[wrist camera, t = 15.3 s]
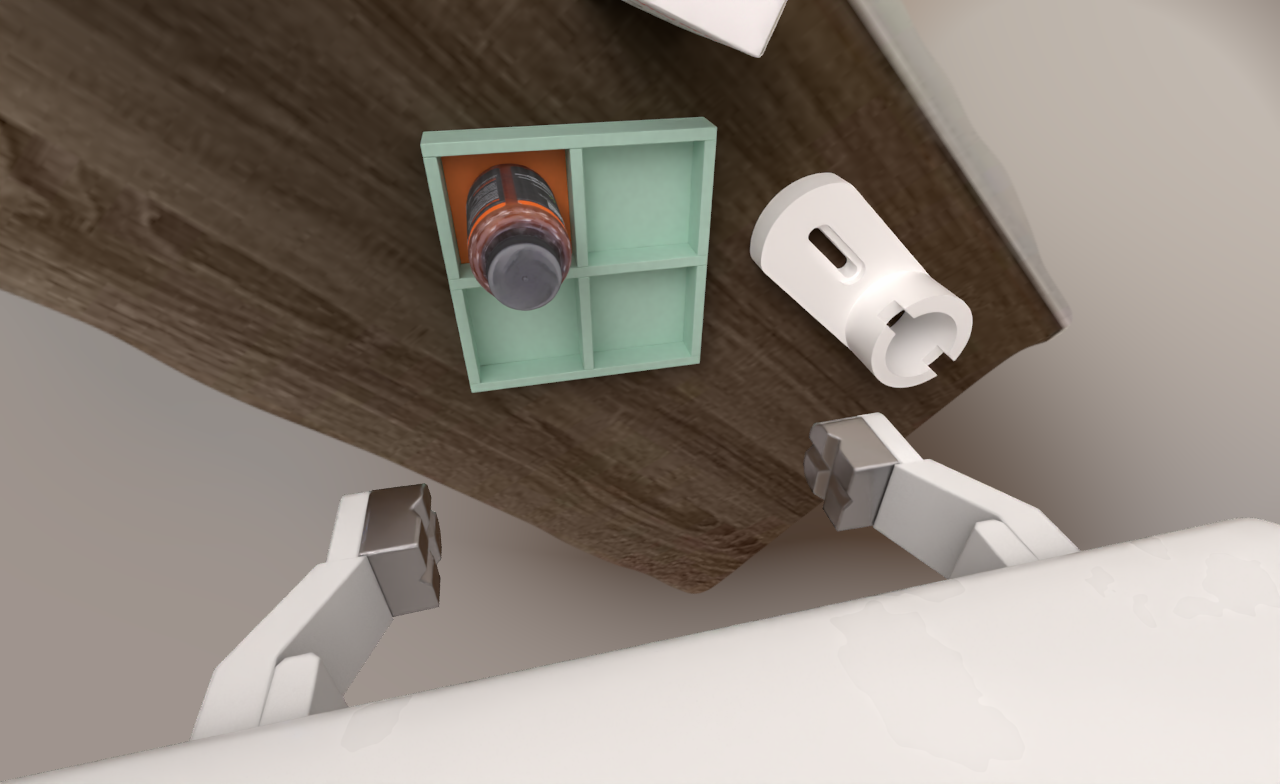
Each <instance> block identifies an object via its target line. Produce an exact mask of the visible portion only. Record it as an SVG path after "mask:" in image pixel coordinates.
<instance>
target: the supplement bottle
mask: <svg viewBox="0 0 1280 784" xmlns="http://www.w3.org/2000/svg"><path fill="white" fill-rule="evenodd" d="M466 217H467V243H468V259H469V264H470V267H471V270H472V273H473V275H474V277H475V278H476V280H477V281H478V282H479V284H480V285H481V286H482V287H483V288H484V289H485V290H486V291H487V292H488V293H490V294H491V295H493V296H494V297H495V298H496V299H497V300H498V301H500V302H501V303H502V304H503V305H505V306H507V307H509V308H512V309H515V310H521V311H529V310H534V309H537V308H541V307H543V306H544V305H546V304H548V303H549V302H550V301H551V300H552V299H553V298H554V297H555V296H556V294H557V293H558V291H559V289H560V286H561V284H562V283H563V281H564V280H565V278H566V277H567V274H568V272H569V268H570V266H571V258H572V251H571V244H570V240H569V237H568V234H567V230H566V228H565V225H564V222H563V219H562V217H561V214H560V211H559V208H558V206H557V203H556V200H555V197H554V195H553V192H552V191H551V189H550V187H549V185H548V184H547V182H546V181H545V180H544V179H543V178H542V177H541V176H540V175H539V174H538V173H536V172H535V171H534V170H532V169H530V168H528V167H526V166H523V165H519V164H500V165H496V166H493V167H490V168H489V169H487V170H485V171H484V172H482V173H481V174H480V175H479V176H478V177H477V178H476V179H475V181H474V182H473V184H472V185H471V187H470V189H469V193H468V196H467V202H466Z"/></svg>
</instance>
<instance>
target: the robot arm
mask: <svg viewBox="0 0 1280 784" xmlns="http://www.w3.org/2000/svg"><path fill="white" fill-rule="evenodd" d="M809 438H810V440H811V441H812V443H813V445H812V446H811V447H810V448H809V449H808V450H807V451H806V452H805V457H804V463H803V466H804V474H805V478H806V481H807V483H808V485H809V487H810V489H811V491H812V492H813V494H815V495H817V496H819V497H820V498H822V499H824V504H823V510H824V511H825V513H826V515H827V516H828V518H829V519H830V521H831V522H832V524H833V526H834V527H835V529H836V530H837V531H842V530H848V529H855V528H861V527H867V526H873V525H874V526H873V527H874V528H875V529H876V530H878V531H879V532H881V533H882V534H883V535H885V536H886V537H888V538H889V539H891V540H892V541H893V542H895V543H896V544H898V545H899V546H901V547H902V548H904V549H905V550H906V551H908V552H909V553H911V554H912V555H914V556H915V557H916V558H918V559H919V560H921V561H923V562H924V563H925V564H927V565H928V566H929V567H931V568H932V569H934V570H935V571H937V572H938V573H939V574H941V575H942V576H944V577H945V578H947V579H948V580H944V581H939V582H934V583H930V584H925V585H920V586H915V587H911V588H906V589H901V590H897V591H892V592H887V593H882V594H878V595H873V596H869V597H864V598H859V599H854V600H850V601H845V602H841V603H836V604H831V605H826V606H822V607H817V608H813V609H808V610H803V611H798V612H794V613H789V614H784V615H780V616H775V617H771V618H765V619H761V620H756V621H752V622H747V623H742V624H737V625H733V626H728V627H723V628H718V629H714V630H709V631H704V632H700V633H695V634H691V635H686V636H681V637H676V638H671V639H667V640H662V641H658V642H653V643H648V644H643V645H638V646H634V647H629V648H624V649H620V650H615V651H610V652H605V653H601V654H596V655H591V656H587V657H583V658H578V659H573V660H568V661H563V662H559V663H554V664H549V665H544V666H540V667H535V668H530V669H526V670H522V671H516V672H512V673H507V674H503V675H497V676H493V677H488V678H483V679H479V680H474V681H469V682H465V683H460V684H455V685H450V686H446V687H441V688H436V689H432V690H427V691H423V692H418V693H413V694H408V695H404V696H399V697H394V698H389V699H385V700H380V701H375V702H371V703H366V704H361V705H357V706H352V707H348V705H347V704H346V702H345V700H344V698H343V696H344V694H345V692H346V691H347V690H348V688H349V686H350V685H351V683H352V682H353V680H354V679H355V677H356V676H357V674H358V673H359V671H360V670H361V668H362V667H363V665H364V664H365V662H366V660H367V659H368V657H369V656H370V654H371V653H372V651H373V650H374V648H375V647H376V645H377V644H378V642H379V640H380V639H381V637H382V636H383V635H384V633H385V632H386V630H387V628H388V627H389V625H390V624H391V622H392V621H393V617H395V616H399V615H404V614H408V613H413V612H418V611H422V610H427V609H431V608H436V607H439V596H440V575H439V572H438V569H437V563H438V562H439V561H440V560H441V548H442V546H441V534H440V528H439V522H438V518H437V515H436V512H434V511H432V510H431V495H430V492H429V489H428V486H427V485H426V484H417V485H409V486H401V487H394V488H386V489H379V490H372V491H369V492H361V493H352V494H345V495H344V496H343V497H342V499H341V500H340V504H339V508H338V512H337V516H336V520H335V524H334V529H333V533H332V537H331V542H330V546H329V551H328V555H327V559H326V563H321V564H317V565H316V566H315V567H314V568H313V569H312V570H311V571H310V572H309V573H308V574H307V575H306V576H305V577H304V578H303V579H302V580H301V581H300V582H299V583H298V584H297V585H296V586H295V587H294V588H293V589H292V591H291V592H290V593H289V594H288V595H287V596H286V597H285V598H284V599H283V600H282V601H281V602H280V603H279V604H278V605H277V606H276V607H275V608H274V609H273V610H272V611H271V612H270V613H269V614H268V615H267V616H266V617H265V618H264V619H263V620H262V621H261V622H260V623H259V624H258V625H257V626H256V627H255V628H254V629H253V630H252V631H251V633H249V634H248V635H247V636H246V637H245V639H244V640H242V642H241V643H240V644H239V645H238V646H237V647H236V648H235V649H234V650H233V651H232V652H231V653H230V654H229V655H228V656H227V657H226V658H225V659H224V660H223V661H222V662H221V663H220V664H219V665H218V666H217V667H216V668H215V669H214V672H213V675H212V677H211V680H210V684H209V686H208V689H207V692H206V695H205V698H204V700H203V703H202V706H201V709H200V712H199V714H198V718H197V720H196V723H195V726H194V729H193V732H192V734H191V737H190V740H189V741H188V742H183V743H178V744H174V745H169V746H164V747H160V748H155V749H150V750H146V751H141V752H136V753H131V754H127V755H122V756H117V757H113V758H109V759H103V760H99V761H95V762H90V763H85V764H80V765H76V766H71V767H66V768H61V769H57V770H52V771H47V772H43V773H38V774H34V775H29V776H24V777H19V778H15V779H10V780H5V781H1V782H0V784H1280V525H1278V524H1275V523H1272V522H1269V521H1265V520H1262V519H1258V518H1236V519H1230V520H1224V521H1220V522H1215V523H1210V524H1206V525H1201V526H1197V527H1192V528H1187V529H1183V530H1179V531H1174V532H1169V533H1164V534H1160V535H1155V536H1150V537H1146V538H1141V539H1136V540H1132V541H1127V542H1122V543H1118V544H1113V545H1109V546H1104V547H1099V548H1094V549H1090V550H1085V551H1080V550H1079V549H1078V548H1077V547H1076V546H1075V545H1074V544H1073V543H1072V542H1071V541H1070V540H1069V539H1068V538H1067V537H1066V536H1065V535H1064V534H1063V533H1062V532H1061V531H1060V530H1059V529H1058V528H1057V527H1056V526H1055V525H1054V524H1053V523H1052V522H1051V521H1050V520H1049V519H1048V518H1047V517H1046V516H1045V515H1044V514H1043V513H1042V512H1041V511H1040V510H1039V509H1038V508H1035V507H1033V506H1031V505H1029V504H1027V503H1024V502H1022V501H1020V500H1018V499H1016V498H1014V497H1011V496H1009V495H1007V494H1005V493H1003V492H1001V491H998V490H996V489H994V488H992V487H990V486H987V485H985V484H983V483H981V482H979V481H976V480H974V479H972V478H970V477H968V476H966V475H963V474H961V473H959V472H957V471H955V470H952V469H950V468H948V467H946V466H944V465H942V464H939V463H937V462H935V461H933V460H931V459H926V460H923V459H922V458H921V457H920V456H919V455H918V453H916V451H915V450H914V449H913V448H912V447H911V446H910V444H909V443H908V442H907V441H906V440H905V439H904V438H903V436H902V435H901V434H900V433H899V432H898V431H897V430H896V429H895V427H894V426H893V425H892V424H891V423H890V422H889V421H888V419H887V418H886V417H885V416H884V415H882V414H880V413H878V412H877V413H872V414H866V415H860V416H856V417H849V418H843V419H837V420H830V421H824V422H818V423H814V425H813V426H812V427H811V430H810V434H809Z"/></svg>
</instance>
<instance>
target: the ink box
mask: <svg viewBox="0 0 1280 784" xmlns="http://www.w3.org/2000/svg"><path fill="white" fill-rule="evenodd" d="M622 1H624V2H627V3H629V4H631V5H633V6H635V7H637V8H639V9H641V10H643V11H645V12H647V13H650V14H652V15H654V16H656V17H658V18H660V19H663V20H665V21H667V22H669V23H671V24H674V25H676V26H678V27H680V28H683V29H685V30H688V31H690V32H693V33H695V34H698V35H700V36H703V37H705V38H708V39H711V40H713V41H716V42H718V43H721V44H724V45H726V46H729V47H731V48H734V49H737V50H739V51H741V52H744V53H746V54H748V55H751V56H753V57H757V58H760V57H761V56H762V55H763V53H764V51H765V48H766V46H767V44H768V42H769V40H770V37H771V35H772V33H773V31H774V29H775V27H776V24H777V22H778V20H779V18H780V16H781V14H782V11H783V9H784V7H785V5H786V2H787V0H622Z"/></svg>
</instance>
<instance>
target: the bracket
mask: <svg viewBox="0 0 1280 784" xmlns="http://www.w3.org/2000/svg"><path fill="white" fill-rule="evenodd" d="M814 228H819V230H820V231H821V232H822V233H823V234H824V235H825V236H826V237H827V238H828V239H829V240H830V241H831V242H832V243H833V244H834V245H835V246H836V247H837V248H838V249H839V250H840V251H841V252H842V254H843V255H844V256H845V257H846V259H847V261H846V264H845V265H844V266H843V267H842V268H838V269H837V268H836V267H835V266H834V265H833V264H832V263H831V262H830V261H829V260H828V259H827V258H826V257H825V256H824V255H823V254H822V253H821V252H820V251H819V250H818V249H817V248H816V247H815V246H814V245H813V244H812V243H811V242H810V241H809V239H808V236H809V233H810V232H811V231H812V230H813V229H814ZM750 255H751V258H752V259H753V260H754V262H755V263H756V264H757V265H758V266H759V267H760V268H761V269H762V271H763V272H764V273H765V274H766V275H767V276H769V277H770V278H771V279H772V280H773V281H774V282H775V283H776V284H777V285H779V286H780V287H781V288H782V289H783V290H784V291H785V292H786V293H788V294H789V295H790V296H791V297H792V298H793V299H794V300H795V301H796V302H798V303H799V304H800V305H801V306H802V307H803V308H804V309H805V310H806V311H808V312H809V313H810V314H811V315H812V316H813V317H814V318H815V319H817V320H818V321H819V322H820V323H821V324H822V325H823V326H824V327H825V328H827V329H828V330H829V331H830V332H831V333H832V334H833V335H834V336H836V337H837V338H838V339H839V340H840V341H841V342H842V343H843V344H844V345H846V346H847V347H848V348H849V349H850V350H851V351H852V352H853V353H854V354H855V355H856V356H857V357H858V358H859V359H860V361H861V362H862V363H863V364H864V365H865V366H866V367H867V368H868V369H869V370H870V371H871V372H872V373H873V375H874V376H875V377H876V378H877V379H878V380H879V381H880V382H882V383H883V384H885V385H887V386H891V387H896V388H904V387H911V386H915V385H918V384H921V383H924V382H926V381H928V380H930V379H932V378H933V377H935V376H937V375H936V374H935V373H934V372H933V371H932V370H931V369H930V368H929V367H928V365H929V364H930V363H932V362H933V361H934V360H936V359H937V358H938V357H939V356H940V355H941V354H942V353H943V352H944V353H945V354H947V355H948V356H949V357H950V358H951V359H952V360H953V361H955V359H956V358H957V357H958V356H959V355H960V353H961V352H962V350H963V349H964V347H965V345H966V344H967V342H968V339H969V337H970V334H971V330H972V314H971V311H970V309H969V307H968V306H967V305H966V303H965V302H964V301H962V300H961V299H960V298H958V297H957V296H956V295H954V294H953V293H951V292H950V291H949V290H947V289H946V288H945V287H943V286H942V285H941V284H939V283H938V282H937V281H935V280H934V279H932V278H931V277H930V276H929V274H928V273H927V272H926V271H925V270H924V269H923V267H922V266H921V265H920V264H919V263H918V262H917V260H916V259H915V258H914V257H913V256H912V255H911V253H910V252H909V251H908V250H907V249H906V247H905V246H904V245H903V244H902V243H901V242H900V240H899V239H898V238H897V237H896V236H895V235H894V233H893V232H892V231H891V230H890V229H889V228H888V226H887V225H886V224H885V223H884V222H883V220H882V219H881V218H880V217H879V216H878V215H877V213H876V212H875V211H874V210H873V209H872V208H871V206H870V205H869V204H868V203H867V202H866V200H865V199H864V198H863V197H862V196H861V195H860V193H859V192H858V191H857V190H856V189H855V188H854V186H853V185H851V184H850V183H848V182H847V181H845V180H843V179H842V178H840V177H839V176H837V175H836V174H834V173H818V174H813V175H809V176H806V177H803V178H801V179H799V180H797V181H795V182H793V183H792V184H790V185H788V186H787V187H785V188H784V189H783V190H782V191H780V192H779V193H778V194H777V195H776V196H775V197H774V198H773V199H772V200H771V201H770V202H769V204H768V205H767V206H766V207H765V209H764V210H763V212H762V213H761V215H760V217H759V219H758V221H757V223H756V225H755V228H754V230H753V234H752V237H751V243H750ZM902 310H905V312H904V314H903V315H902V317H901V318H900V319H899V320H898V321H897V322H896V323H895V324H894V325H893V326H892V327H890V328H889V327H888V326H887V325H886V324H887V323H888V322H889V321H890V320H891V319H892V318H893V317H894V316H895V315H896V314H898V313H899V312H901V311H902Z"/></svg>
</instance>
